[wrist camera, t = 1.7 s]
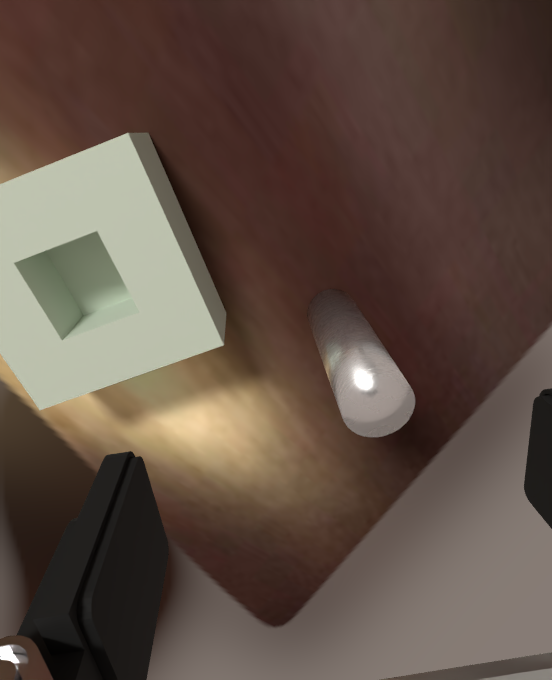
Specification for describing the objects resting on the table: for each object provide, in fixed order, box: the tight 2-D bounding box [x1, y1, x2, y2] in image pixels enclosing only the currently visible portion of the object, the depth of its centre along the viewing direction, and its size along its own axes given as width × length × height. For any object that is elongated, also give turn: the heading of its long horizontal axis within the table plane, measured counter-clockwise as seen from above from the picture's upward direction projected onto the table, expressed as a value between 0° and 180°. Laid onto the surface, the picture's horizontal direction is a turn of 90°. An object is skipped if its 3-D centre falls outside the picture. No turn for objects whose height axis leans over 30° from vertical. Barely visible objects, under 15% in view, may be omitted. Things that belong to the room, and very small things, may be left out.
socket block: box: [0, 133, 227, 410], centre depth 31 cm, size 14×14×6 cm
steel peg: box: [307, 289, 415, 437], centre depth 31 cm, size 4×4×14 cm
